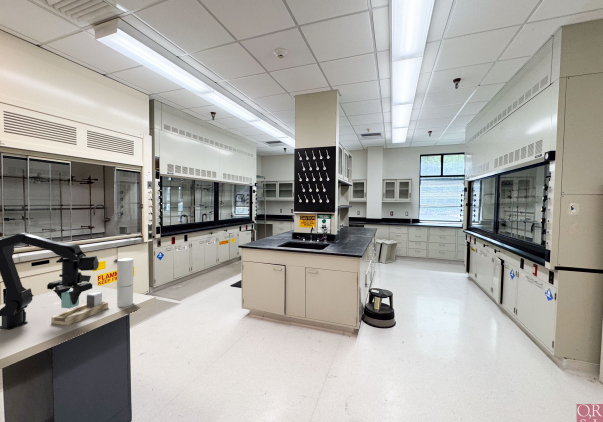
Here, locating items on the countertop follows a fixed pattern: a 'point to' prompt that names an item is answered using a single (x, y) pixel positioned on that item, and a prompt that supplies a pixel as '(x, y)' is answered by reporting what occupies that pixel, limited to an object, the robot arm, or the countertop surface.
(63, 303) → the teal block
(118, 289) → the cylindrical container
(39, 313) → the countertop surface
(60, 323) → the wooden tray
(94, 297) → the grey rectangular block
